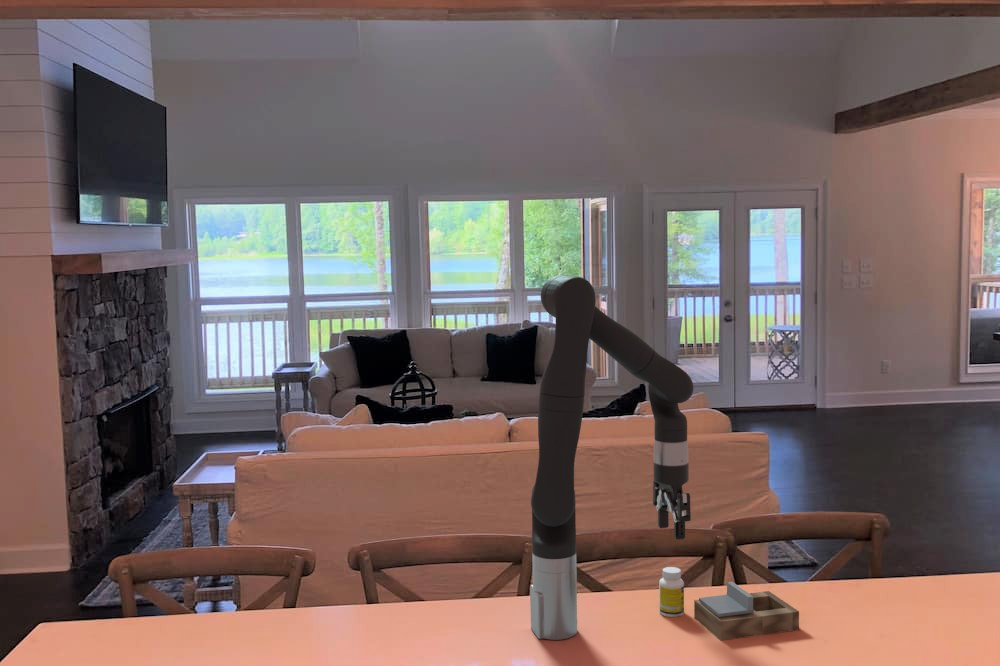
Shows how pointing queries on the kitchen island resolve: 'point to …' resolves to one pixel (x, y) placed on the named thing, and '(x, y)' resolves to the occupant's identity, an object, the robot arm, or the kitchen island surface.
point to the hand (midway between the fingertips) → (671, 533)
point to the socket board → (751, 618)
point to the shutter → (730, 602)
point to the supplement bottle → (671, 593)
